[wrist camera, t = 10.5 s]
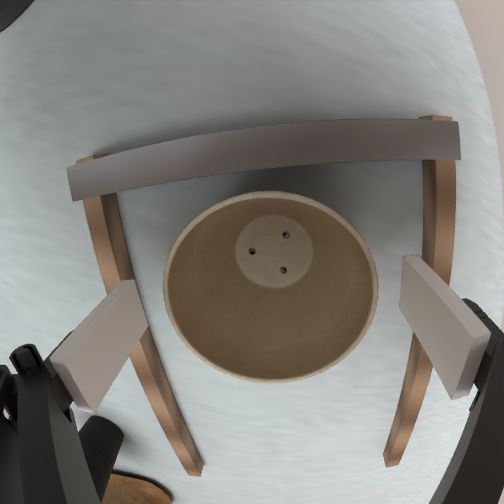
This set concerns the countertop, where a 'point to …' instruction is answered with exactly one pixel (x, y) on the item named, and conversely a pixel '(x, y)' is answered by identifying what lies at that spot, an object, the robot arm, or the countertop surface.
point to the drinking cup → (100, 450)
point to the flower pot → (270, 287)
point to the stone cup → (133, 492)
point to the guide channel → (262, 157)
